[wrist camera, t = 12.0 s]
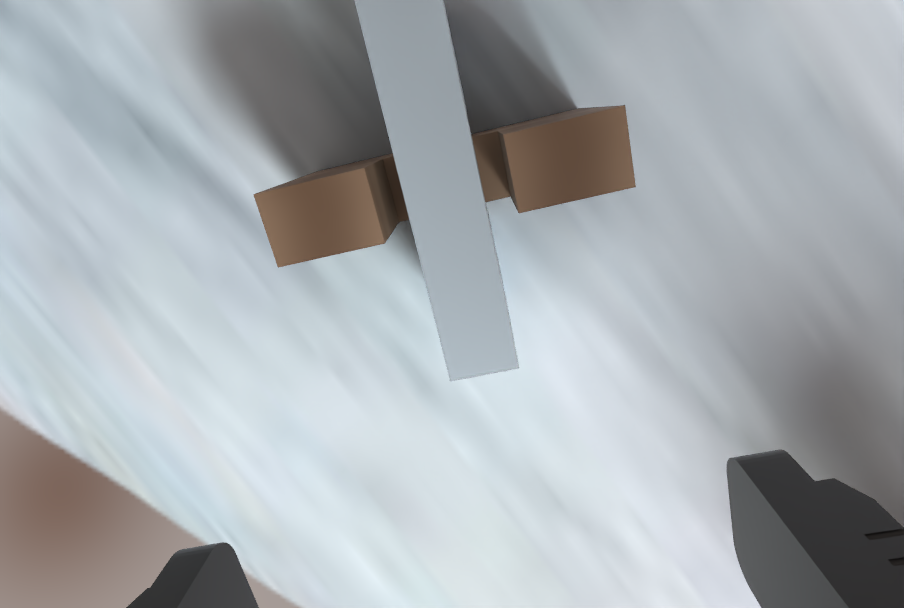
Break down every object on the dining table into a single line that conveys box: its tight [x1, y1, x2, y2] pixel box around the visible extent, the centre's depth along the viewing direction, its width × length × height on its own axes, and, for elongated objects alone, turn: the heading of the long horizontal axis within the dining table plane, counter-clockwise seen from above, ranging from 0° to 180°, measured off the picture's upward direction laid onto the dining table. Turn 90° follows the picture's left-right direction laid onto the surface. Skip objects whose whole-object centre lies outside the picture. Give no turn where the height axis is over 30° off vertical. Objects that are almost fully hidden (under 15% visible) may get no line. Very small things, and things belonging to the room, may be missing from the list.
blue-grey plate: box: [354, 0, 519, 381], centre depth 22 cm, size 13×2×8 cm, turn 13°
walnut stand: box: [254, 105, 636, 267], centre depth 22 cm, size 12×2×8 cm, turn 103°
